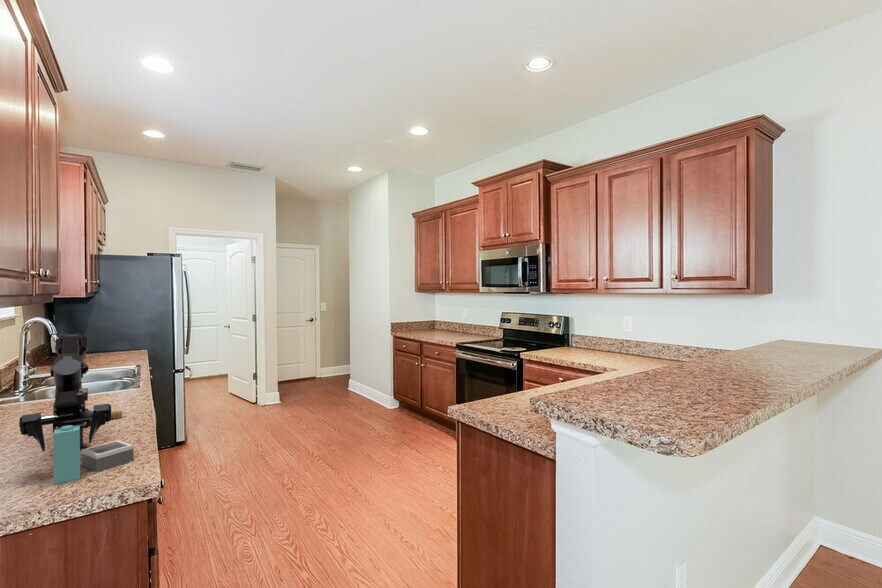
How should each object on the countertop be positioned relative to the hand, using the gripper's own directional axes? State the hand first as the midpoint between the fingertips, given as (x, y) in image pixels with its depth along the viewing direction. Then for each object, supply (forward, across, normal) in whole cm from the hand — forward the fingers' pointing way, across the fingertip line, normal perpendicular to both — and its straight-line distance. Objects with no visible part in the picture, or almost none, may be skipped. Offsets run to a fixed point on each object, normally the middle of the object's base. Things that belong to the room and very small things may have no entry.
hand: (67, 446), depth 113 cm
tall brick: (+7, 0, +5) cm, 8 cm away
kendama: (-36, +5, +47) cm, 60 cm away
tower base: (+2, +8, +10) cm, 13 cm away
